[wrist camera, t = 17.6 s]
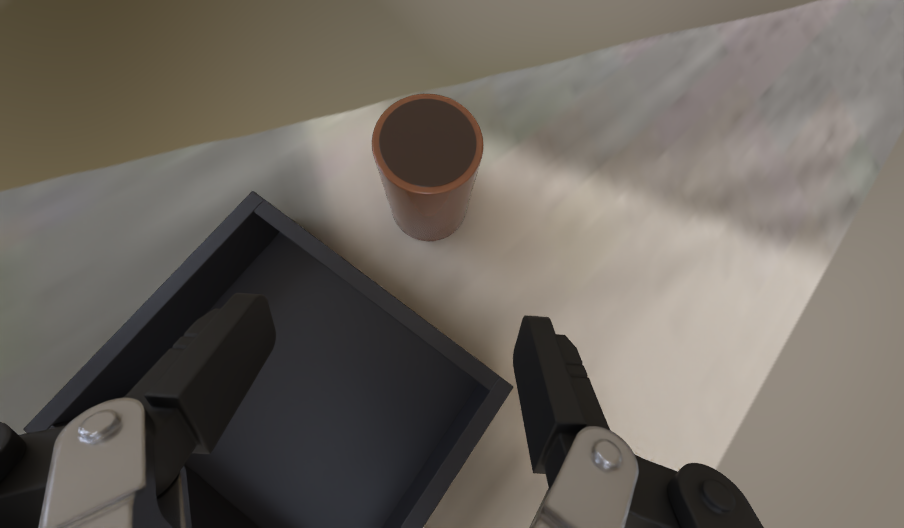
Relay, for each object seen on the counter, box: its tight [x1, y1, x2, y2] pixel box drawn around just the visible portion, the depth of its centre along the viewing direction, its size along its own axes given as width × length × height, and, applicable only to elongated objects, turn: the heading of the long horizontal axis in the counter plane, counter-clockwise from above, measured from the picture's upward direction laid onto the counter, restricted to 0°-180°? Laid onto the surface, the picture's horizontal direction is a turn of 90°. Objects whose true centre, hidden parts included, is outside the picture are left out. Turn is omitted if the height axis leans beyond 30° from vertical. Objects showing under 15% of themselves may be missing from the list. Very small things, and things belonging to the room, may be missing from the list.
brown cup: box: [372, 94, 483, 241], centre depth 22 cm, size 6×6×9 cm
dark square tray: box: [24, 191, 513, 528], centre depth 21 cm, size 20×17×5 cm
